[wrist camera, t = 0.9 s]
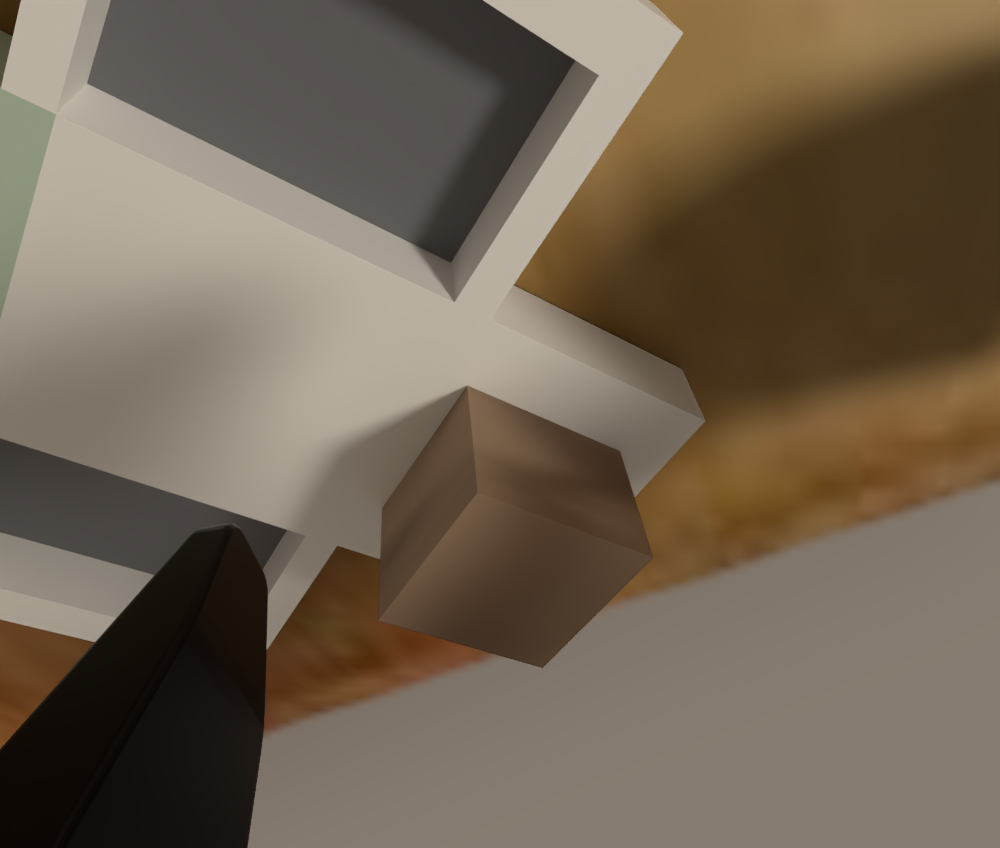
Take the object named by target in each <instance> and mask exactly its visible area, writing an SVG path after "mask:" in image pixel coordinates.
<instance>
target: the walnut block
mask: <svg viewBox="0 0 1000 848" xmlns="http://www.w3.org/2000/svg"><path fill="white" fill-rule="evenodd" d="M652 559H653V555H652V552H651V549H650V546H649V542H648V539H647V536H646V533H645V529H644V526H643V523H642V520H641V517H640V513H639V510H638V507H637V504H636V500H635V497H634V494H633V491H632V488H631V484H630V481H629V478H628V475H627V471H626V468H625V465H624V462H623V459H622V455H621V452H620V451H619V450H616V449H614V448H612V447H609V446H607V445H605V444H602V443H600V442H598V441H596V440H593V439H591V438H589V437H586V436H584V435H582V434H579V433H577V432H575V431H572V430H570V429H568V428H565V427H563V426H561V425H558V424H556V423H554V422H551V421H549V420H547V419H544V418H542V417H540V416H537V415H535V414H533V413H530V412H528V411H526V410H523V409H521V408H519V407H516V406H514V405H512V404H509V403H507V402H505V401H502V400H500V399H498V398H495V397H493V396H491V395H488V394H486V393H484V392H482V391H479V390H477V389H475V388H472V387H470V386H468V385H467V387H466V388H465V389H464V391H463V392H462V394H461V395H460V397H459V398H458V399H457V401H456V402H455V404H454V405H453V407H452V408H451V410H450V411H449V412H448V414H447V415H446V417H445V418H444V420H443V421H442V423H441V424H440V425H439V427H438V428H437V430H436V431H435V433H434V434H433V436H432V437H431V438H430V440H429V441H428V443H427V444H426V446H425V447H424V448H423V450H422V451H421V453H420V454H419V456H418V457H417V459H416V460H415V461H414V463H413V464H412V466H411V467H410V469H409V470H408V472H407V473H406V474H405V476H404V477H403V479H402V480H401V482H400V483H399V485H398V486H397V487H396V489H395V490H394V492H393V493H392V495H391V496H390V498H389V499H388V500H387V502H386V503H385V505H384V506H383V508H382V521H381V551H380V581H379V611H378V621H381V622H384V623H388V624H391V625H395V626H398V627H402V628H405V629H409V630H412V631H416V632H419V633H423V634H426V635H430V636H433V637H437V638H440V639H444V640H447V641H451V642H454V643H457V644H461V645H464V646H468V647H471V648H475V649H478V650H482V651H485V652H489V653H492V654H496V655H499V656H503V657H506V658H510V659H513V660H517V661H521V662H524V663H527V664H531V665H534V666H538V667H541V668H543V667H544V666H545V665H546V664H547V663H548V662H549V661H550V660H551V659H552V658H553V657H554V656H555V655H556V654H557V653H558V652H559V651H560V650H561V649H562V648H563V647H564V646H565V645H566V644H567V643H568V642H569V641H570V640H571V639H572V638H573V637H574V636H575V635H576V634H577V633H578V632H579V631H580V630H581V629H582V628H583V627H584V626H585V625H586V624H587V623H588V622H589V621H590V620H591V619H592V618H593V617H594V616H595V615H596V614H597V613H598V612H599V611H600V610H601V609H602V608H603V607H604V606H605V605H606V604H607V603H608V602H609V601H610V600H611V599H612V598H613V597H614V596H615V595H616V594H617V593H618V592H619V591H620V590H621V589H622V588H623V587H624V586H625V585H627V584H628V583H629V582H630V581H631V580H632V579H633V578H634V577H635V576H636V575H637V574H638V573H639V572H640V571H641V570H642V569H643V568H644V567H645V566H646V565H647V564H648V563H649V562H650V561H651V560H652Z"/></svg>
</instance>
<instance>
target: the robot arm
mask: <svg viewBox="0 0 1000 848" xmlns="http://www.w3.org/2000/svg"><path fill="white" fill-rule="evenodd" d="M267 613H268V588H267V581H266V577H265V574H264V572H263V569H262V567H261V566H260V564H259V562H258V560H257V558H256V556H255V554H254V552H253V550H252V548H251V546H250V545H249V543H248V541H247V539H246V537H245V535H244V533H243V532H242V530H241V529H240V527H238V526H237V525H236V524H233V523H226V524H220V525H214V526H208V527H202V528H199V529H197V530H195V531H194V532H192V533H191V534H190V535H189V536H188V538H187V539H186V540H185V541H184V542H183V543H182V544H181V545H180V547H179V548H178V549H177V550H176V551H175V552H174V553H173V555H172V556H171V557H170V558H169V559H168V560H167V561H166V562H165V564H164V565H163V566H162V567H161V568H160V569H159V570H158V572H157V573H156V574H155V575H154V576H153V577H152V578H151V579H150V581H149V582H148V583H147V584H146V585H145V586H144V587H143V588H142V590H141V591H140V592H139V593H138V594H137V595H136V596H135V598H134V599H133V600H132V601H131V602H130V603H129V604H128V605H127V607H126V608H125V609H124V610H123V611H122V612H121V613H120V614H119V616H118V617H117V618H116V619H115V620H114V621H113V622H112V624H111V625H110V626H109V627H108V628H107V629H106V630H105V631H104V633H103V634H102V635H101V636H100V637H99V638H98V639H97V640H96V642H95V643H94V644H93V645H92V646H91V647H90V648H89V650H88V651H87V652H86V653H85V654H84V655H83V656H82V657H81V659H80V660H79V661H78V662H77V663H76V664H75V665H74V666H73V668H72V669H71V670H70V671H69V672H68V673H67V674H66V676H65V677H64V678H63V679H62V680H61V681H60V682H59V683H58V685H57V686H56V687H55V688H54V689H53V690H52V691H51V693H50V694H49V695H48V696H47V697H46V698H45V699H44V700H43V702H42V703H41V704H40V705H39V706H38V707H37V708H36V709H35V711H34V712H33V713H32V714H31V715H30V716H29V717H28V719H27V720H26V721H25V722H24V723H23V724H22V725H21V726H20V728H19V729H18V730H17V731H16V732H15V733H14V734H13V735H12V737H11V738H10V739H9V740H8V741H7V742H6V743H5V745H4V746H3V747H2V748H1V749H0V848H247V846H248V840H249V832H250V825H251V818H252V812H253V805H254V798H255V791H256V783H257V777H258V770H259V763H260V756H261V748H262V740H263V731H264V716H265V689H266V651H267Z"/></svg>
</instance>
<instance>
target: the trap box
mask: <svg viewBox="0 0 1000 848" xmlns="http://www.w3.org/2000/svg"><path fill="white" fill-rule="evenodd" d="M682 34H683V32H682V31H681V30H680V29H679V28H678V27H677V26H676V25H675V24H674V23H673V22H672V21H671V20H670V19H668V18H667V17H666V16H665V15H664V14H663V13H662V12H661V11H660V10H659V9H658V8H657V7H656V6H655V5H654V4H653V3H652V2H650V1H649V0H21V2H20V7H19V11H18V15H17V20H16V24H15V29H14V33H13V36H11V35H9V34H7V33H5V32H3V31H1V30H0V620H5V621H9V622H13V623H17V624H21V625H25V626H30V627H34V628H38V629H42V630H46V631H51V632H55V633H59V634H63V635H67V636H71V637H76V638H80V639H84V640H88V641H92V642H96V640H97V639H98V638H99V637H100V636H101V635H102V634H103V633H104V631H105V630H106V629H107V628H108V627H109V626H110V625H111V624H112V622H113V621H114V620H115V619H116V618H117V617H118V616H119V614H120V613H121V612H122V611H123V610H124V609H125V608H126V607H127V605H128V604H129V603H130V602H131V601H132V600H133V599H134V598H135V596H136V595H137V594H138V593H139V592H140V591H141V590H142V588H143V587H144V586H145V585H146V584H147V583H148V582H149V581H150V579H151V578H152V577H153V576H154V575H155V574H156V573H157V572H158V570H159V569H160V568H161V567H162V566H163V565H164V564H165V562H166V561H167V560H168V559H169V558H170V557H171V556H172V555H173V553H174V552H175V551H176V550H177V549H178V548H179V547H180V545H181V544H182V543H183V542H184V541H185V540H186V539H187V538H188V536H189V535H190V534H191V533H192V532H194V531H195V530H197V529H199V528H202V527H208V526H214V525H220V524H226V523H233V524H236V525H237V526H238V527H240V529H241V530H242V532H243V533H244V535H245V537H246V539H247V541H248V543H249V545H250V546H251V548H252V550H253V552H254V554H255V556H256V558H257V560H258V562H259V564H260V566H261V567H262V569H263V572H264V574H265V577H266V581H267V588H268V613H267V649H268V648H269V646H270V645H271V643H272V642H273V640H274V639H275V637H276V636H277V634H278V633H279V631H280V630H281V628H282V627H283V625H284V624H285V623H286V621H287V620H288V618H289V617H290V615H291V614H292V612H293V611H294V609H295V608H296V606H297V605H298V603H299V602H300V600H301V599H302V597H303V596H304V594H305V593H306V591H307V590H308V588H309V587H310V585H311V584H312V583H313V581H314V580H315V578H316V577H317V575H318V574H319V572H320V571H321V569H322V568H323V566H324V565H325V563H326V562H327V560H328V559H329V557H330V556H331V554H332V553H333V551H334V550H335V548H336V547H337V546H340V547H343V548H346V549H349V550H352V551H355V552H359V553H362V554H365V555H368V556H371V557H374V558H377V559H380V551H381V521H382V508H383V506H384V505H385V503H386V502H387V500H388V499H389V498H390V496H391V495H392V493H393V492H394V490H395V489H396V487H397V486H398V485H399V483H400V482H401V480H402V479H403V477H404V476H405V474H406V473H407V472H408V470H409V469H410V467H411V466H412V464H413V463H414V461H415V460H416V459H417V457H418V456H419V454H420V453H421V451H422V450H423V448H424V447H425V446H426V444H427V443H428V441H429V440H430V438H431V437H432V436H433V434H434V433H435V431H436V430H437V428H438V427H439V425H440V424H441V423H442V421H443V420H444V418H445V417H446V415H447V414H448V412H449V411H450V410H451V408H452V407H453V405H454V404H455V402H456V401H457V399H458V398H459V397H460V395H461V394H462V392H463V391H464V389H465V388H466V387H467V385H468V386H470V387H472V388H475V389H477V390H479V391H482V392H484V393H486V394H488V395H491V396H493V397H495V398H498V399H500V400H502V401H505V402H507V403H509V404H512V405H514V406H516V407H519V408H521V409H523V410H526V411H528V412H530V413H533V414H535V415H537V416H540V417H542V418H544V419H547V420H549V421H551V422H554V423H556V424H558V425H561V426H563V427H565V428H568V429H570V430H572V431H575V432H577V433H579V434H582V435H584V436H586V437H589V438H591V439H593V440H596V441H598V442H600V443H602V444H605V445H607V446H609V447H612V448H614V449H616V450H619V451H620V452H621V455H622V459H623V462H624V465H625V468H626V471H627V475H628V478H629V481H630V484H631V488H632V491H633V494H634V497H635V496H636V495H637V494H638V493H639V492H640V491H641V490H642V489H643V488H644V487H645V486H646V485H647V483H648V482H649V481H650V480H651V479H652V478H653V477H654V476H655V475H656V474H657V473H658V472H659V471H660V469H661V468H662V467H663V466H664V465H665V464H666V463H667V462H668V461H669V460H670V459H671V458H672V457H673V455H674V454H675V453H676V452H677V451H678V450H679V449H680V448H681V447H682V446H683V445H684V444H685V443H686V441H687V440H688V439H689V438H690V437H691V436H692V435H693V434H694V433H695V432H696V431H697V430H698V429H699V427H700V426H701V425H702V424H703V423H704V422H705V419H704V417H703V414H702V412H701V410H700V408H699V406H698V403H697V401H696V399H695V397H694V394H693V392H692V390H691V388H690V386H689V383H688V381H687V379H686V377H685V375H684V372H683V370H682V369H681V368H679V367H677V366H675V365H673V364H671V363H669V362H667V361H665V360H663V359H661V358H659V357H657V356H655V355H653V354H651V353H649V352H647V351H645V350H643V349H641V348H638V347H636V346H634V345H632V344H630V343H628V342H626V341H624V340H622V339H620V338H618V337H616V336H614V335H612V334H610V333H608V332H606V331H604V330H602V329H600V328H598V327H596V326H594V325H592V324H590V323H588V322H586V321H584V320H582V319H580V318H578V317H576V316H574V315H572V314H570V313H568V312H566V311H564V310H562V309H560V308H558V307H556V306H554V305H552V304H550V303H548V302H546V301H544V300H542V299H540V298H538V297H536V296H534V295H532V294H530V293H528V292H526V291H524V290H522V289H520V288H518V287H516V286H514V283H515V282H516V280H517V279H518V277H519V276H520V274H521V273H522V271H523V270H524V268H525V267H526V265H527V264H528V262H529V261H530V260H531V258H532V257H533V255H534V254H535V252H536V251H537V249H538V248H539V246H540V245H541V243H542V242H543V240H544V239H545V237H546V236H547V234H548V233H549V231H550V230H551V228H552V227H553V225H554V224H555V222H556V221H557V220H558V218H559V217H560V215H561V214H562V212H563V211H564V209H565V208H566V206H567V205H568V203H569V202H570V200H571V199H572V197H573V196H574V194H575V193H576V191H577V190H578V188H579V187H580V185H581V184H582V182H583V181H584V180H585V178H586V177H587V175H588V174H589V172H590V171H591V169H592V168H593V166H594V165H595V163H596V162H597V160H598V159H599V157H600V156H601V154H602V153H603V151H604V150H605V148H606V147H607V145H608V144H609V142H610V141H611V140H612V138H613V137H614V135H615V134H616V132H617V131H618V129H619V128H620V126H621V125H622V123H623V122H624V120H625V119H626V117H627V116H628V114H629V113H630V111H631V110H632V108H633V107H634V105H635V104H636V102H637V101H638V99H639V98H640V97H641V95H642V94H643V92H644V91H645V89H646V88H647V86H648V85H649V83H650V82H651V80H652V79H653V77H654V76H655V74H656V73H657V71H658V70H659V68H660V67H661V65H662V64H663V62H664V61H665V59H666V58H667V57H668V55H669V54H670V52H671V51H672V49H673V48H674V46H675V45H676V43H677V42H678V40H679V39H680V37H681V36H682Z"/></svg>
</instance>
